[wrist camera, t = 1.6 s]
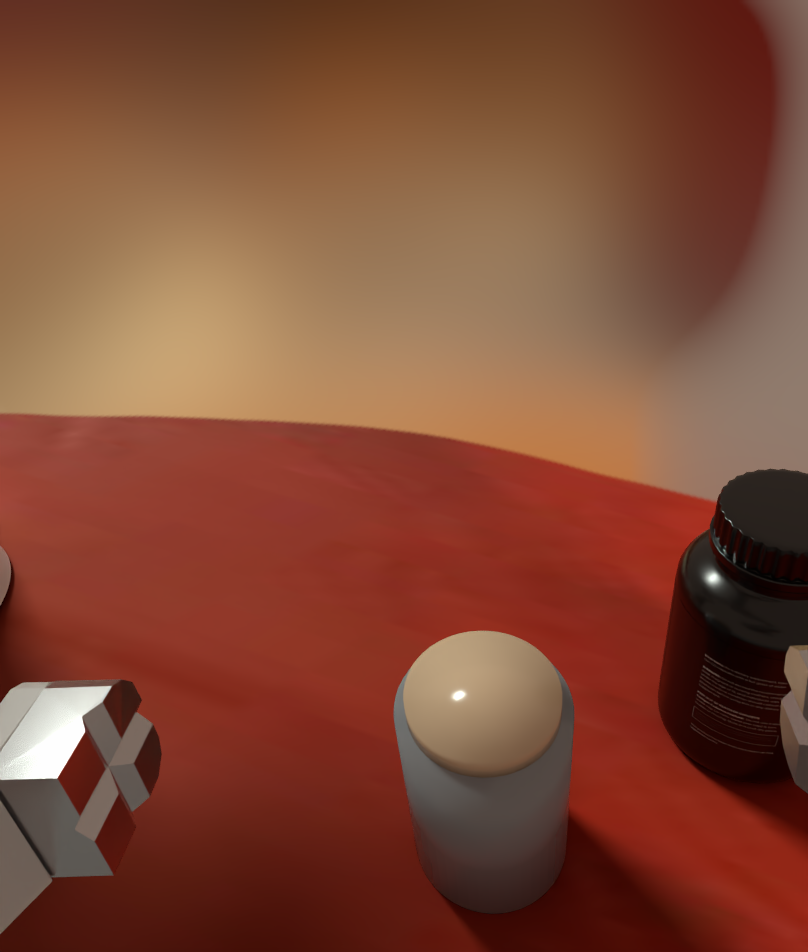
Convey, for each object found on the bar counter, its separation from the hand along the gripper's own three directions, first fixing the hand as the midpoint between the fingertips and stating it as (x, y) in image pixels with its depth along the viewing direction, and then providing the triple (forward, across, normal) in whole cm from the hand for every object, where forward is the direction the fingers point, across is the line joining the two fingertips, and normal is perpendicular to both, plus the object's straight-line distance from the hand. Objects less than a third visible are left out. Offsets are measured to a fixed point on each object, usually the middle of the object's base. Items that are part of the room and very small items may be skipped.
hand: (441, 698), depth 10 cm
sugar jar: (+13, +2, +21) cm, 24 cm away
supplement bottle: (+18, -9, +21) cm, 29 cm away
